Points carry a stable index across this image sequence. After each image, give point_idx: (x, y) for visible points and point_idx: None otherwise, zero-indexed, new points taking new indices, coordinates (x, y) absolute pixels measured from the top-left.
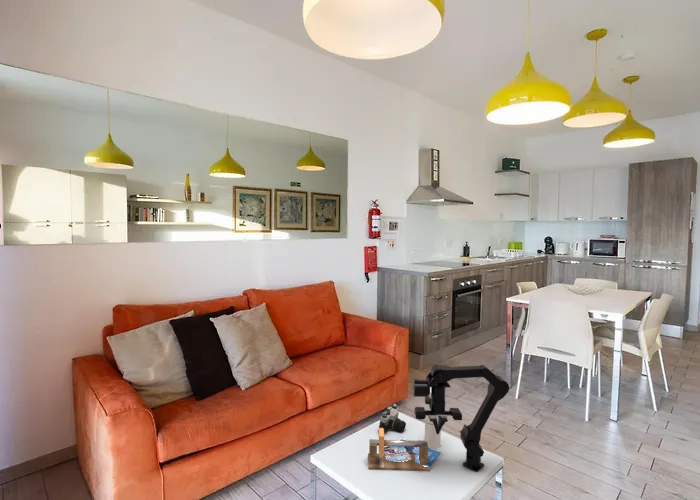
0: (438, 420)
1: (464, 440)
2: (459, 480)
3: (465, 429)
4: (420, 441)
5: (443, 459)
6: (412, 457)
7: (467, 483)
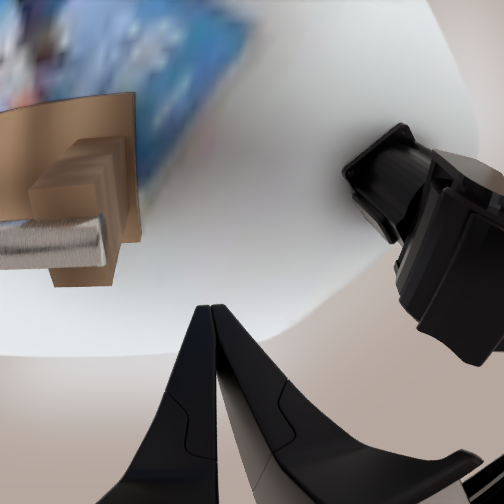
0: (270, 466)
1: (422, 309)
2: (273, 282)
3: (498, 308)
4: (35, 261)
5: (249, 110)
6: (39, 139)
7: (299, 294)
